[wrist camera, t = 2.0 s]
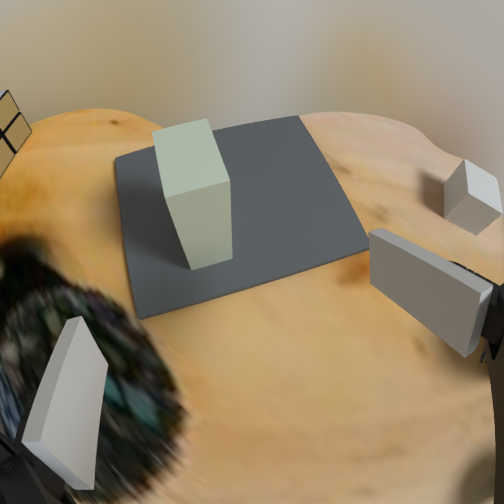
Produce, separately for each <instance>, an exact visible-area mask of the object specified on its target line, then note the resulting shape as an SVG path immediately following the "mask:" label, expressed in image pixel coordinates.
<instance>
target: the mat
mask: <svg viewBox="0 0 504 504" xmlns="http://www.w3.org/2000/svg"><path fill="white" fill-rule="evenodd" d="M212 133H213V136H214V138H215V141H216V144H217V146H218V149H219V152H220V154H221V157H222V160H223V162H224V165H225V168H226V171H227V173H228V176H229V179H230V191H231V225H232V254H233V259H230V260H226V261H223V262H219V263H216V264H213V265H209V266H206V267H202V268H199V269H195V270H191V268H190V265H189V263H188V260H187V257H186V255H185V252H184V250H183V247H182V244H181V242H180V239H179V236H178V234H177V231H176V228H175V225H174V223H173V220H172V217H171V214H170V211H169V209H168V206H167V203H166V200H165V197H164V192H163V187H162V182H161V177H160V172H159V167H158V162H157V157H156V151H155V146H152V147H148V148H145V149H142V150H138V151H135V152H132V153H129V154H125V155H122V156H119V157H116V158H115V163H116V176H117V188H118V198H119V207H120V216H121V224H122V231H123V239H124V245H125V252H126V258H127V264H128V270H129V276H130V281H131V287H132V292H133V297H134V302H135V307H136V311H137V316H138V318H139V319H140V320H141V319H145V318H149V317H152V316H156V315H160V314H163V313H167V312H170V311H174V310H177V309H181V308H185V307H188V306H191V305H195V304H198V303H202V302H205V301H209V300H212V299H216V298H219V297H222V296H226V295H229V294H232V293H236V292H239V291H242V290H246V289H249V288H252V287H255V286H259V285H262V284H265V283H268V282H272V281H275V280H278V279H281V278H284V277H288V276H291V275H294V274H297V273H300V272H303V271H306V270H309V269H313V268H316V267H319V266H322V265H325V264H328V263H331V262H334V261H337V260H340V259H343V258H346V257H349V256H352V255H355V254H358V253H361V252H364V251H367V250H369V239H368V237H367V235H366V233H365V231H364V229H363V227H362V225H361V223H360V221H359V219H358V217H357V215H356V213H355V211H354V209H353V208H352V206H351V204H350V202H349V200H348V198H347V196H346V195H345V193H344V191H343V189H342V187H341V186H340V184H339V182H338V180H337V178H336V177H335V175H334V173H333V172H332V170H331V168H330V166H329V165H328V163H327V161H326V160H325V158H324V156H323V155H322V153H321V151H320V150H319V148H318V146H317V145H316V143H315V141H314V140H313V138H312V137H311V135H310V133H309V132H308V130H307V129H306V127H305V126H304V124H303V122H302V121H301V119H300V118H299V116H291V117H284V118H278V119H272V120H266V121H260V122H254V123H249V124H243V125H238V126H233V127H228V128H224V129H219V130H214V131H212Z"/></svg>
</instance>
